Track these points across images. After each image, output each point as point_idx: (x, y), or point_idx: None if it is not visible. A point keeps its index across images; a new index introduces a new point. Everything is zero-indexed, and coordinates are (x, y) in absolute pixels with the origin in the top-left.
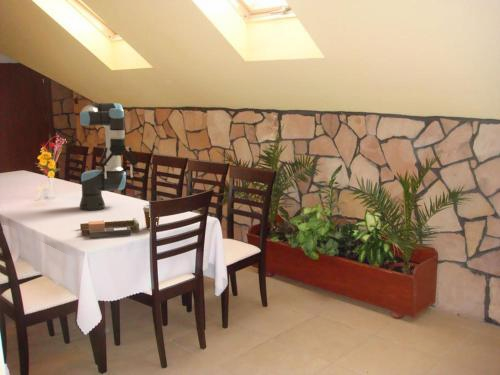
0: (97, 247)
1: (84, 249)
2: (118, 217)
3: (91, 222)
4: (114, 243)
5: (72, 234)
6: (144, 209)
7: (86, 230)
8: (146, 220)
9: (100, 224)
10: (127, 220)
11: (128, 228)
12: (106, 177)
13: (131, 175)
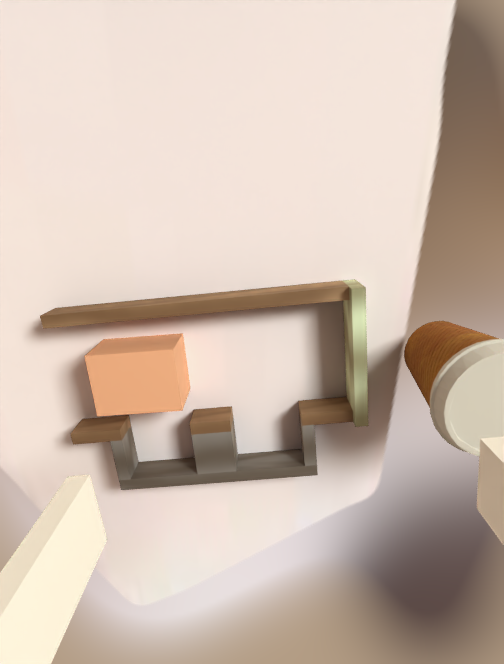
0: (174, 580)
1: (128, 591)
2: (259, 53)
3: (105, 378)
4: (238, 548)
5: (36, 395)
6: (437, 421)
7: (98, 441)
8: (419, 388)
9: (159, 410)
10: (312, 293)
11: (306, 453)
12: (98, 554)
13: (498, 532)
